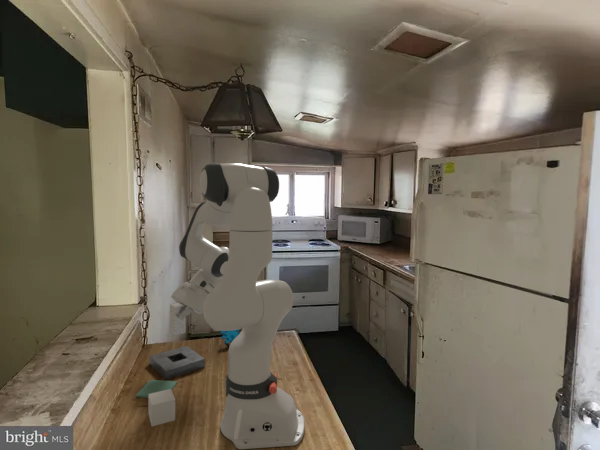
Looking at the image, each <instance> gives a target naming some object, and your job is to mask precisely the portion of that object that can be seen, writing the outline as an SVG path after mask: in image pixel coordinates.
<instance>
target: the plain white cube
mask: <svg viewBox="0 0 600 450" xmlns="http://www.w3.org/2000/svg"><path fill="white" fill-rule="evenodd" d="M147 399H148V406H147V407H148V409H147V411H148V413H147V414H148V419H149V421H150V426H151V427H156V426H159V425H163V424H166V423H170V422H175V420H176V398H175V396H174V393H173V390H171V389H168V390H164V391H159V392H155V393H151V394H148V398H147Z"/></svg>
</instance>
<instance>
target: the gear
mask: <svg viewBox="0 0 600 450" xmlns="http://www.w3.org/2000/svg"><path fill="white" fill-rule="evenodd" d="M239 331H240V329H237V330H231V331H220V334H221V335H222V336H221V339H222V340H224V344H225V345H228V343H229V347H230V345H231V343H232V341H233V340H234V339H235V338H236V337H237V336H238V335H239V334H240V332H239Z"/></svg>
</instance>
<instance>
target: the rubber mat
mask: <svg viewBox="0 0 600 450" xmlns="http://www.w3.org/2000/svg"><path fill="white" fill-rule="evenodd" d="M177 384H178V381H177V380H162V379H161V380H159V379H157V380H156V379H149V380H148V381H147V383H146V384H144V386H143V387H142V388H141V389H140V390H139V391H138V393H136V394H135V396H136V398H145V399H148V394H151V393H155V392H159V391H164V390H168V389H171V390H172V391H173V390H174V388H175V387H176V386H177Z"/></svg>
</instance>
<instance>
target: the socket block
mask: <svg viewBox="0 0 600 450" xmlns="http://www.w3.org/2000/svg"><path fill="white" fill-rule="evenodd" d="M205 360H206V359H205V358H204V357H203V356H201V354H199V353H197V352H196V351H195V350H193V349H192V348H191V347H189V346H188V345H185V346H181V347H178V348H174V349H170V350H166V351H164V352H163V351H162V352H160V353H155V354H152V355H150V356H149V365H150V366H151V367H152V368H153V369H154V370H155V371H156V372H157V373H158V374H160V376H162V377H163V378H164V380H165V381H168V380H169V379H173V378H176V377H178V376H179V377H180V376H181V375H185V374H187V373H191V372H193V371H196V370H200V369H203V368H205V365H206V363H205V362H206V361H205Z"/></svg>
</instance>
